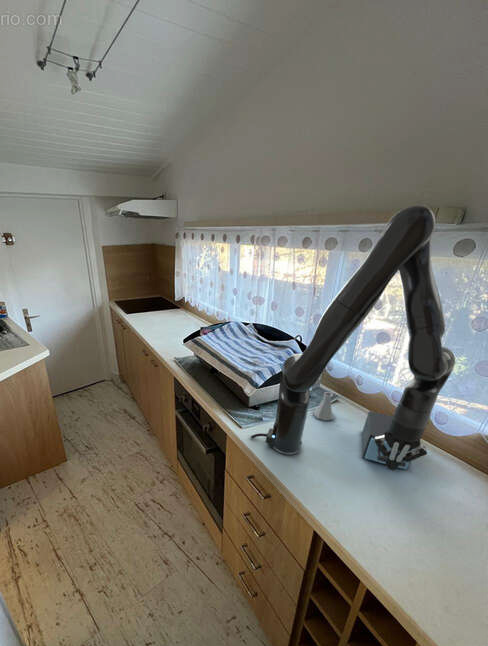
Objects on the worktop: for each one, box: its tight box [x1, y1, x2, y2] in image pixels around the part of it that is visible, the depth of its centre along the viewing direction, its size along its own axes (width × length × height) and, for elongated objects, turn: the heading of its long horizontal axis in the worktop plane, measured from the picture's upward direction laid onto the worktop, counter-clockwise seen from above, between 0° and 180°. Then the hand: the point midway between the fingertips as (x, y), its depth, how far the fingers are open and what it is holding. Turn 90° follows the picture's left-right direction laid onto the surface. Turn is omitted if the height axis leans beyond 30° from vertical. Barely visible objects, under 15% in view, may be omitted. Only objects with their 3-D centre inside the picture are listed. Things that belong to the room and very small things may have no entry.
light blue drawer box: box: [364, 437, 414, 470], centre depth 98 cm, size 18×11×8 cm, turn 154°
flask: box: [313, 391, 334, 421], centre depth 119 cm, size 7×7×10 cm
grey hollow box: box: [361, 410, 412, 470], centre depth 101 cm, size 15×13×10 cm
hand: (390, 468), depth 90 cm, fingers closed
